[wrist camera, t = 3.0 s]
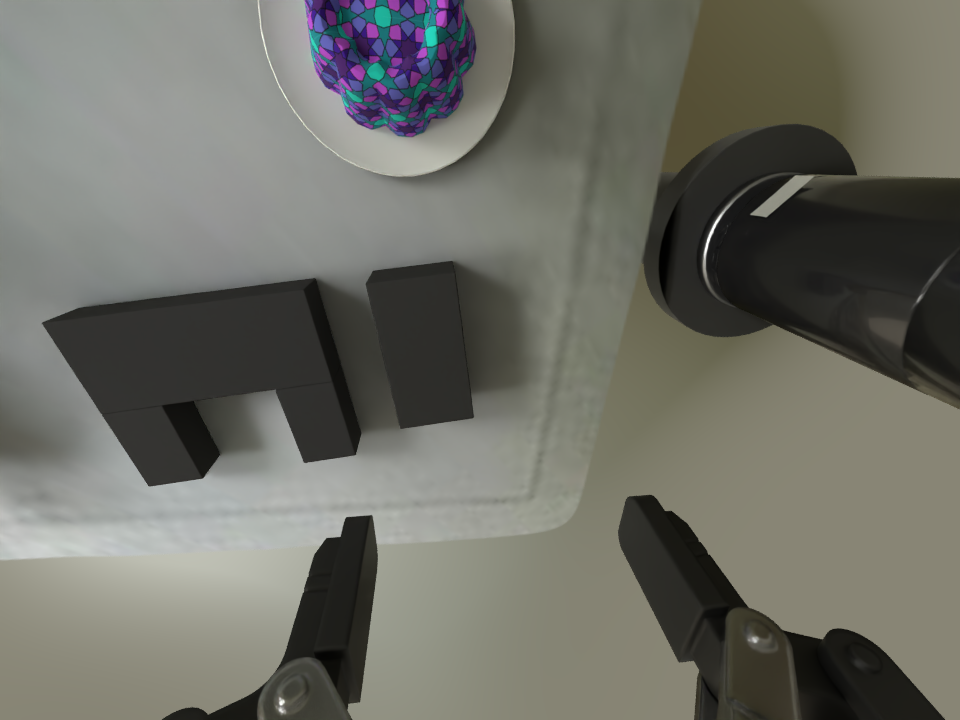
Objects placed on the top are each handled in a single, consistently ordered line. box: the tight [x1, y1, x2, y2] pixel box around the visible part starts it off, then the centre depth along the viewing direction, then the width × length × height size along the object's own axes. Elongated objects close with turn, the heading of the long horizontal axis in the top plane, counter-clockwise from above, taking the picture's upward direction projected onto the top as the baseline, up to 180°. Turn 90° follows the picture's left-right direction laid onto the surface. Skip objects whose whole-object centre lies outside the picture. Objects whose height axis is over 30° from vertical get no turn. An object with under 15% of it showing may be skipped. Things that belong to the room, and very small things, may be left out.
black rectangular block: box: [366, 261, 474, 429], centre depth 25 cm, size 5×10×3 cm, turn 6°
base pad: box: [42, 278, 361, 486], centre depth 25 cm, size 14×12×2 cm
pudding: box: [258, 0, 515, 177], centre depth 17 cm, size 12×12×5 cm
